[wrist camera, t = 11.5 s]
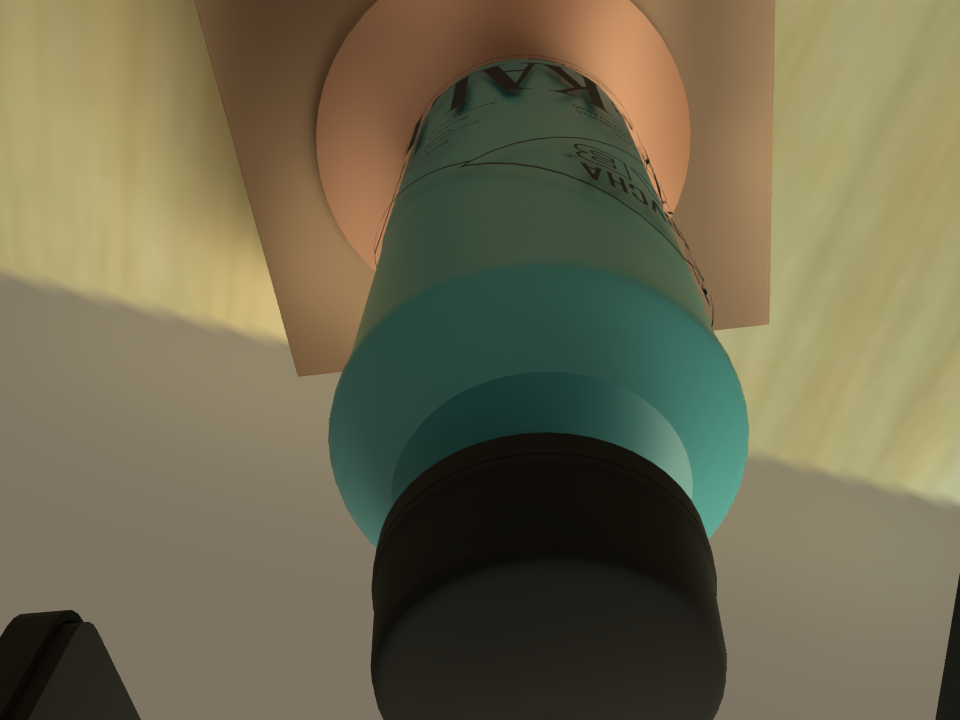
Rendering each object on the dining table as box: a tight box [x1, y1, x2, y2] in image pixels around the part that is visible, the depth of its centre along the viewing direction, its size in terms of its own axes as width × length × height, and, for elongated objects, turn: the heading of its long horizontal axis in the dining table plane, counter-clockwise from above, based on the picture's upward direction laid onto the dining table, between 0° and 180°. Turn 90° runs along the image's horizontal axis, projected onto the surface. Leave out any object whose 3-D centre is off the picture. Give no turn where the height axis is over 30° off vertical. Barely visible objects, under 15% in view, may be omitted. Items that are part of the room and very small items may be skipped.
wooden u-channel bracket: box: [195, 0, 775, 376], centre depth 31 cm, size 16×14×9 cm
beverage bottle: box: [328, 55, 749, 720], centre depth 18 cm, size 6×7×20 cm
